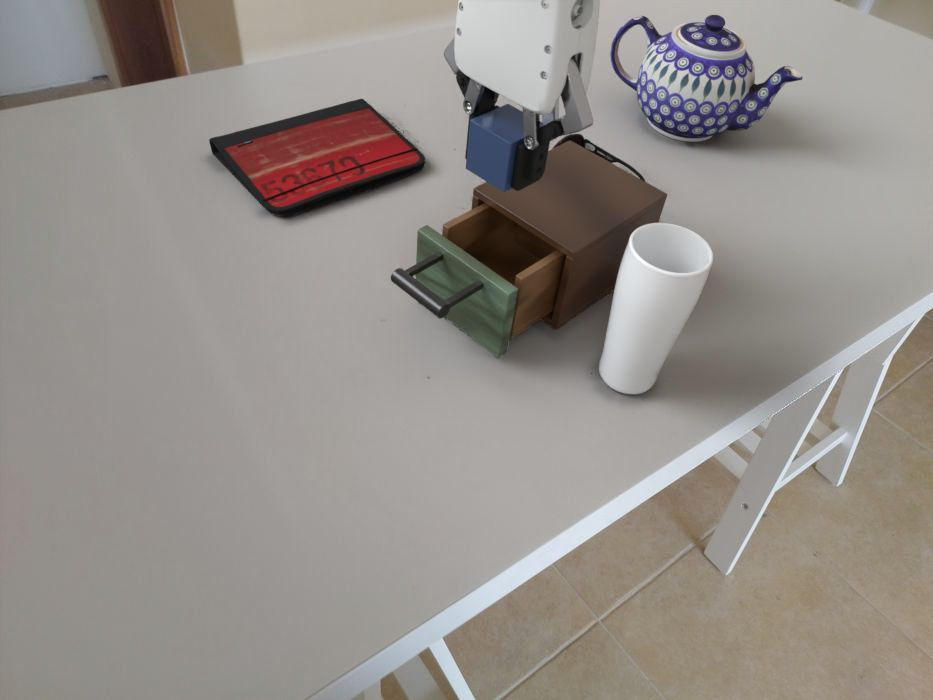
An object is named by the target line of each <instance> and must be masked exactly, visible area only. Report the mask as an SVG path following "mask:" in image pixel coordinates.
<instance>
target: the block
mask: <svg viewBox="0 0 933 700" xmlns="http://www.w3.org/2000/svg"><path fill="white" fill-rule="evenodd" d="M542 126H543V124H542V121H540V127H542ZM523 142H524V136H523V110H520V109H519V108H517V107H515V106H513V105H511V104H510V103H505V104H503V105H501V106H499V108H497V109H494V110H492V111H490V112H487V113H485V114H483V115H481V116H478V117H476V118H474V119H471V120H470V127H469V138H468V148H467V159H465V170H467V171H469V172H471V173H472V174H474V175H475V176H476V177H478V178H480V179H481V180H483V181H485V182H488V183H489V184H491V185H493V186H494V187H496V188H497V189H499V190H501V191H502V192H504V193H505V192H506V191H508V190H510V189H512V186H511V182H512V175H513V168H514V161H515V155H516V148H517V146H518V145H519V144H521V143H523Z"/></svg>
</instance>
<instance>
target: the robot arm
mask: <svg viewBox="0 0 933 700" xmlns="http://www.w3.org/2000/svg"><path fill="white" fill-rule="evenodd" d="M600 6H601V0H458V2H457V10H456V18H455V27H454V28H455V29H454V38H452V40H451V41H450V42H449V43H448V45H447V46H446V47H445V48H444V51H443V57H444V59H445V61H446V63H447V64H448V66H449V67H450V69H451V71H452V73H453V75H455V79H456V83H457V85H458V87H459V89H460V91H461V93H462V96H463V97H464V98H463V102H462V108H463V110H464V112H465V113H466V114H467V115H469V116H468V124H467V134H466V144H465V155H464V159H465V160H466V159H467V148H468V138H469V127H470V120H471V119H474V118H476V117H478V116H481V115H483V114H485V113H487V112H490V111H492V110H494V109H497V108H499V107H500V106H499V105H496V104H497V103H498V100H499V96H501V97H503V98H505V99H507V100H509V101H511V102H513V103H515V104H516V105H518V106H520V107H521V108H522V112H523V136H524V142H523V143H521V144H519V145H518V146H517V148H516V155H515V161H514V168H513V175H512V182H511V186H512V188H513V189H514V190H516V191H520V190H522V189H523V188H525V187H527V186H529V185H531V184H533V183H535V182H537V181H538V180H540V179H541V177H542V176H543V174H544V171H545V166H546V161H547V155H548V151H549V150H550V144H551V141H553V140H555V139H557V138H560V137H563V136H567V135H570V134H577V133H579V132H582V131H583V130H586V129H587V128H590V127H592V125H593V124H594V118H593V113H592V110H591V107H590V104H589V100H588V97H587V93H588V90H589V84H590V81H591V77H592V72H593V71H592V70H593V65H594V59H595V53H596V45H597V37H598V31H599V30H598V28H599V19H600V8H601V7H600ZM560 99H561V101H562V105H563V108H564V111H565V114H564V115H562V116H560ZM540 116H542V117H540ZM540 119H541V120H542V121H541V120H540ZM540 122H542V124H543V126H542V127H540Z"/></svg>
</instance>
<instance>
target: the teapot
mask: <svg viewBox="0 0 933 700" xmlns="http://www.w3.org/2000/svg"><path fill="white" fill-rule="evenodd" d="M635 26H641V27H642V28H643V29H644V31H645V34H646V52H645V54H644V56H643V59H642V61H641V64H640V68H639V70H638V74H637V75H638V76H637V77H633V76H631V75H630V74H629V73H628V72H626V71H625V69H624V68H623V66H622V63H621V60H620V57H619V49H620V48H619V47H620V43H621V40H622V38H623V37H624V35H626V33H627V32H628V31H629V30H630V29H632V28H633V27H635ZM725 26H726V20H725V18H724V17H723V16H721V15H720V14H710V15H708V16H706V17H705V19H704V22H699V21H695V22H693V21H692V22H684V23H680V24H678V25H676V26H674V27H673V29H672V30H671V31H670V32H667V33H665V34H663V35H662V34H660V33H659V32H658V29H656V26H655V25H654V24H653V23H652V21H651V20H650V19H649V18H648V17H647V16H645V15H639V16H635V17H632V18H631V19H628V21H626V22H625V23H623V25H622V26H621V27H620V28H619V29H618V31H616V33H615V35H614V38H613V40H612V42H611V47H610V52H609V53H610V54H609V56H610V63H611V67H612V68H613V71H614V73H615V74H616V75H617V77H618V78H619V79H620V80H621V81H622V82H623V83H625V84H626V85H627V86H628V87H630V88H631V89H633V90H634V91H635V92H636V98H637V103H638V106H639V107H640V110H641V111H642V114H643V115H644V116H645V117H646V120H647V122H648V124H649V125H650V127H651V128H652V129H653V130H654V131H656V132H657V133H659V134H661V135H662V136H665V137H667V138H669V139H673V140H677V141H681V142H693V143H694V142H702V141H703V142H704V141H706V140H709V139H711V138H712V137H713V136H716V135H719V134H722V133H724V132H726V131H729V132H731V131H732V132H741V131H745V130H749V129H750V128H751V127H753V126H754V125H756V124H757V123H758V122H759V121H760V120H761V119H762V118H763V117H764V115H765V114H766V112H767V110H768V109H769V107H770V106H771V104H772V103H773V101H774V99H775V98H776V96H777V95H778V93H779V91H780V90H781V89H782V88H783V87H784V86H785V85H786V84H788V83H792V82H796V81H797V82H798V81H802V80H803V75H802V73H801V72H800V71H798V70H797V69H796V68H794V67H793V66H790V65H784V66H781V67H779V68H778V69H777V70H775V71H774V72H773V73H771V75H769V77H768V78H767V79H765V81H763V82H761V83H757V84H756V70H755V69H756V68H755V65H754V61H753V59H752V57H751V55H750V54H749V53H748V52H747V46H748V45H747V42H746V40H745V39H744V38H743V37H742V36H741V35H740V34H738V33H737V32H736V31H734V30H731V29H729V28H728V27H725Z"/></svg>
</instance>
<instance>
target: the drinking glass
mask: <svg viewBox="0 0 933 700" xmlns="http://www.w3.org/2000/svg"><path fill="white" fill-rule="evenodd" d="M713 263H714V253H713V249H712V248H711V246H710V244H709V243H708V241H706V239H704V238H703V237H702V236H701V235H699V234H698V232H695V231H694V230H692V229H689V228H687V227H684V226H682V225H678V224H674V223H668V222H658V223H650V224H646V225H643V226H641V227H639V228H637V229H636V230H635V231H634V232H633V233H632V234H631V236H630V238H629V241H628V244H627V246H626V249H625V252H624V255H623V258H622V261H621V264H620V268H619V271H618V275H617V279H616V284H615V289H614V290H613V296H612V299H611V300H612V301H611V305H610V311H609V317H608V321H607V327H606V331H605V337H604V342H603V348H602V352H601V355H600V357H599V362H598V372H599V375H600V378H601V379H602V381H603V382H604V383H605V385H606V386H608V387H609V388H610V389H612V390H613V391H616V392H617V393H620V394H624V395H640V394H643V393H646V392H647V391H649V390H651V389H652V388H653V386H654V385H655V383H656V382H657V379H658V377H659V374H660V372H661V370H662V368H663V366H664V364H665V362H666V360H667V358H668V356H669V355H670V353H671V351H672V349H673V347H674V346H675V343H676V342H677V340H678V338H679V336H680V334H681V333H682V330H683V329H684V327H685V326H686V324H687V322H688V320H689V318H690V317H691V315H692V313H693V311H694V309H695V307H696V305H697V304H698V301H699V299H700V297H701V295H702V292H703V290H704V287H705V285H706V283H707V279H708V278H709V274H710V271H711V268H712V265H713Z"/></svg>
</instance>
